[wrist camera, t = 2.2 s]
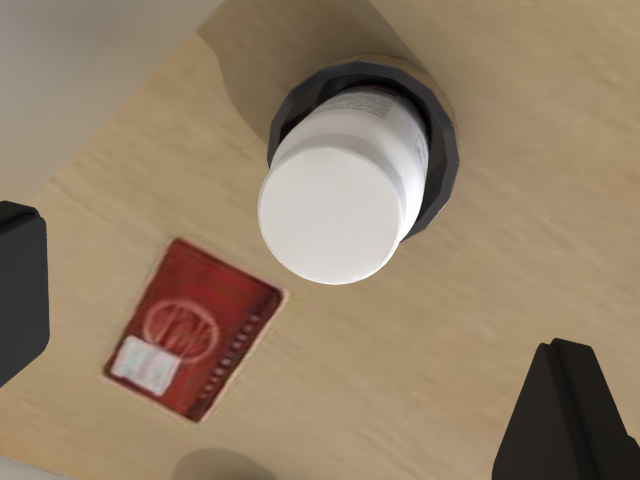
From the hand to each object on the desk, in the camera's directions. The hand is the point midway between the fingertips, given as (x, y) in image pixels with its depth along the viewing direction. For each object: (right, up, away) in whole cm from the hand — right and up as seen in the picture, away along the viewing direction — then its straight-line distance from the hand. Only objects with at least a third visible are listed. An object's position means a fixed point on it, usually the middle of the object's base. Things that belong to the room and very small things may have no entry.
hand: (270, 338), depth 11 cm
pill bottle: (+3, +6, +12) cm, 14 cm away
